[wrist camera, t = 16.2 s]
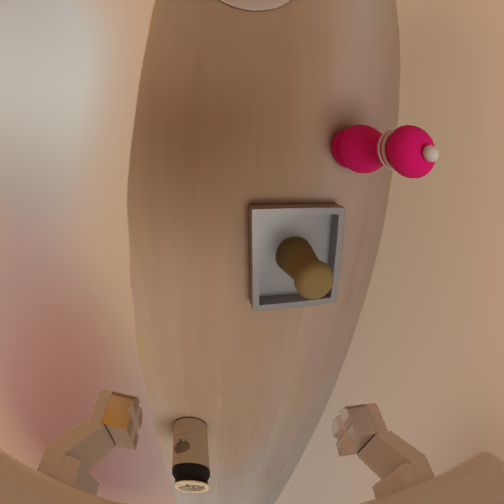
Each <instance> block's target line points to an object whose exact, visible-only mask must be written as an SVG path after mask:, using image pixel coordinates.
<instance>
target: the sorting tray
mask: <svg viewBox="0 0 504 504" xmlns="http://www.w3.org/2000/svg"><path fill="white" fill-rule="evenodd" d="M344 218H345V207H342V206H340V205H338V204H336V203H313V204H262V205H249V274H250V303H251V306H252V310H253V311H262V310H273V309H283V308H292V307H302V306H310V305H319V304H327V303H334V302H335V301H336V294H337V287H338V279H339V271H340V262H341V253H342V242H343V231H344ZM295 236H296V237H302V238H303V239H305V240H307V241H308V243H309V244H310V245H311V247H312V249H313V251H314V252H315V254H316V256H317V258H318V259H319V260H320V261H323V262H325V263H326V264H327V265H328V266H329V267H330V268H331V270H332V273H333V276H334V281H333V285H332V288H331V289H330V291H329V292H328V293H327V294H326V295H325V296H323V297H321V298H319V299H307V298H305V297H303V296H301V295H300V294H299V293H298V291H297V290H296V287H295V285H294V280H293V279H292V278H291V277H290V276H289V275H288V274H287V273H285V272H284V271H283V270H282V269H281V268H280V267H279V266H278V264H277V262H276V256H275V255H276V251H277V248H278V247H279V245H280V244H281V243H282V242H283V241H284V240H285V239H287V238H289V237H295Z"/></svg>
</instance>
